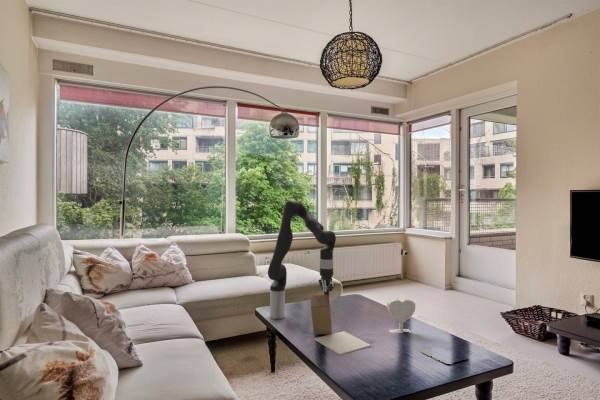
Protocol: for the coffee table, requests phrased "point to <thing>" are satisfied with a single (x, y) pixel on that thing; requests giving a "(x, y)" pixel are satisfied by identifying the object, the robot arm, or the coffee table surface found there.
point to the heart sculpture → (401, 312)
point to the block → (321, 314)
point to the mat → (342, 342)
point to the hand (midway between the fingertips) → (326, 298)
